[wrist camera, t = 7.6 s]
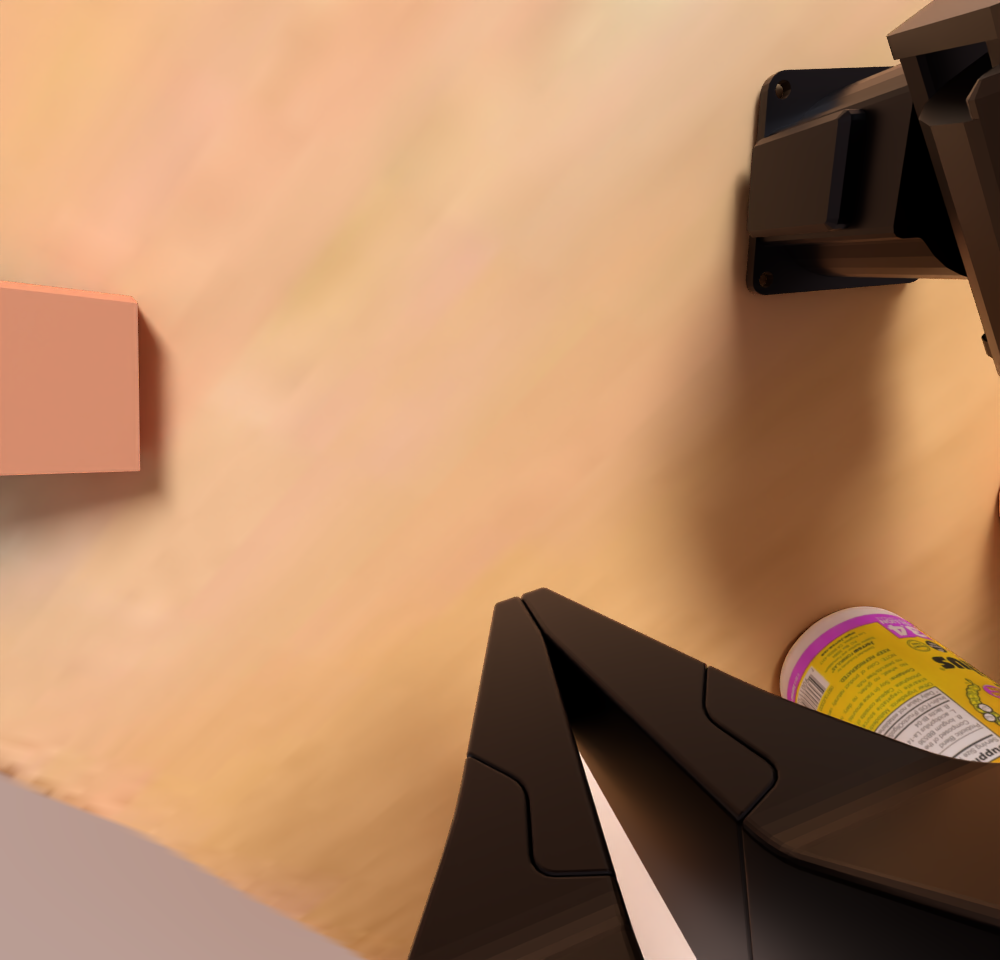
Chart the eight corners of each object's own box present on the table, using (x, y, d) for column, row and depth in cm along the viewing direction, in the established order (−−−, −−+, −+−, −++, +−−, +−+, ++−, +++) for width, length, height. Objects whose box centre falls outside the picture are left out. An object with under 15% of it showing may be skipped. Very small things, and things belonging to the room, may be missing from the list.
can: (574, 846, 29) (684, 1217, 17) (471, 796, 26) (522, 1183, 15) (663, 757, 27) (842, 1092, 16) (564, 697, 25) (692, 1036, 14)
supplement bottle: (926, 655, 28) (1319, 945, 16) (816, 741, 29) (1112, 1078, 17) (863, 571, 25) (1270, 838, 14) (745, 667, 26) (1030, 999, 14)
